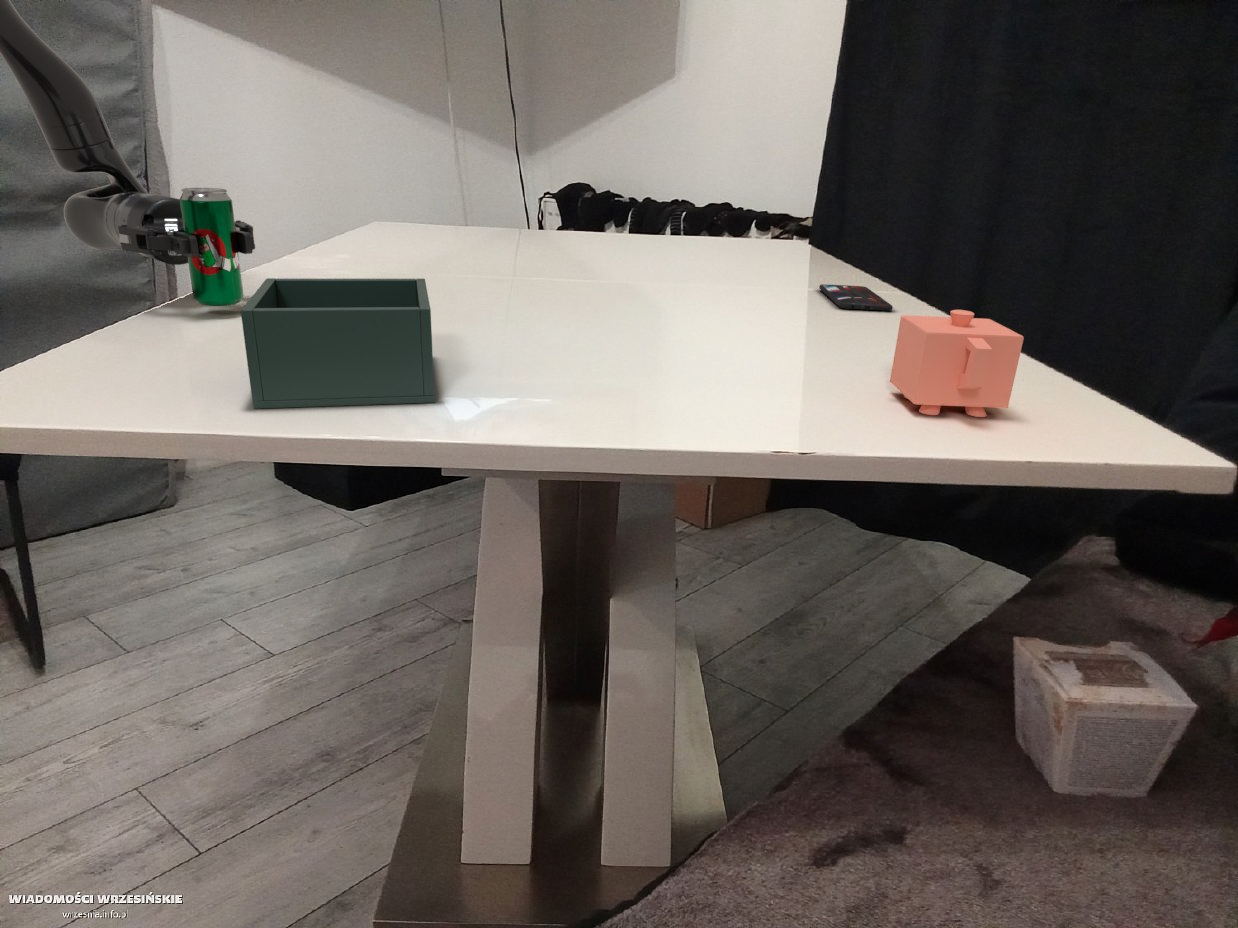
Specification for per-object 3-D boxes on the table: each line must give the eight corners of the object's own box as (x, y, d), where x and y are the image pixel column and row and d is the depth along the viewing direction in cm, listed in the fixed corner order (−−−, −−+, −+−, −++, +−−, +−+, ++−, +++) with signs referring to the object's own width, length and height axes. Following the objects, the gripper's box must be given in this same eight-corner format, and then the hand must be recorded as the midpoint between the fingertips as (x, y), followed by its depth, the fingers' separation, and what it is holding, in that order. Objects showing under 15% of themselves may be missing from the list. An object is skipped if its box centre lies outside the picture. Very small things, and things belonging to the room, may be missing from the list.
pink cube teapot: (960, 385, 78) (977, 298, 75) (1016, 428, 67) (1039, 327, 64) (877, 382, 78) (892, 294, 75) (920, 424, 67) (939, 323, 64)
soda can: (222, 296, 95) (208, 186, 91) (254, 302, 93) (241, 190, 89) (183, 303, 91) (166, 188, 86) (216, 309, 89) (200, 192, 84)
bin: (253, 409, 63) (240, 310, 61) (276, 362, 76) (266, 278, 73) (434, 402, 67) (430, 308, 64) (428, 359, 79) (424, 278, 76)
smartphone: (841, 304, 110) (818, 283, 124) (840, 309, 110) (817, 288, 124) (895, 306, 110) (866, 286, 124) (894, 311, 110) (865, 290, 124)
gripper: (86, 196, 92) (143, 210, 81) (217, 194, 102) (283, 207, 91) (99, 264, 95) (156, 287, 84) (225, 256, 105) (290, 275, 94)
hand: (222, 245), depth 88 cm, fingers closed on soda can, 5 cm apart
